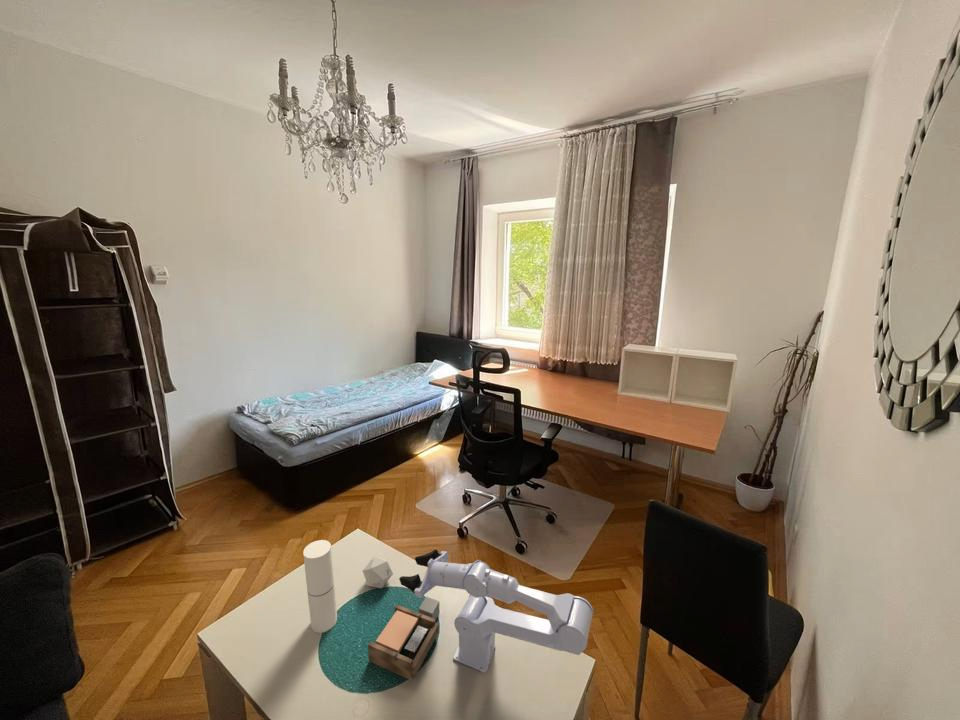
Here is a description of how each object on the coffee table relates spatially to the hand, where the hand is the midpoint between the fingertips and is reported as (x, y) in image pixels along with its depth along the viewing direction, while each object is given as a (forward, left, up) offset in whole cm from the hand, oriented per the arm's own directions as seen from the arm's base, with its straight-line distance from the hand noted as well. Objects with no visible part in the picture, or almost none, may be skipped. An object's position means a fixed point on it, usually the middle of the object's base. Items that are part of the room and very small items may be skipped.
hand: (408, 570), depth 106 cm
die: (+18, -9, -18) cm, 27 cm away
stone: (-4, -4, -18) cm, 19 cm away
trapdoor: (-2, +7, -15) cm, 17 cm away
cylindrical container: (+24, +9, -18) cm, 31 cm away
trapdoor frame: (-3, +7, -18) cm, 20 cm away
